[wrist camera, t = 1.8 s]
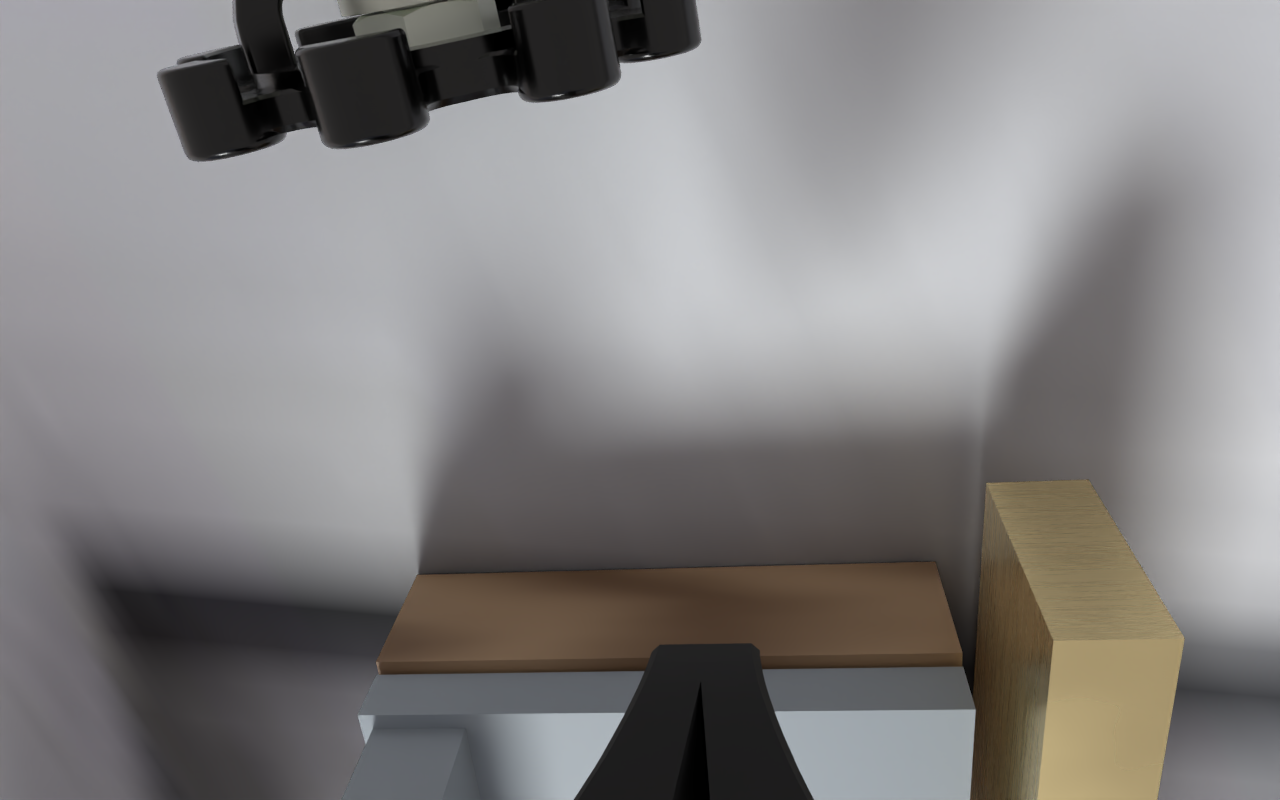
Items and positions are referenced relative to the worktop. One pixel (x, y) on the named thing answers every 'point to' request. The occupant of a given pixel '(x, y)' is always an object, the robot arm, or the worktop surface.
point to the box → (673, 618)
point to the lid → (596, 702)
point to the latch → (1067, 652)
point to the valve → (406, 65)
